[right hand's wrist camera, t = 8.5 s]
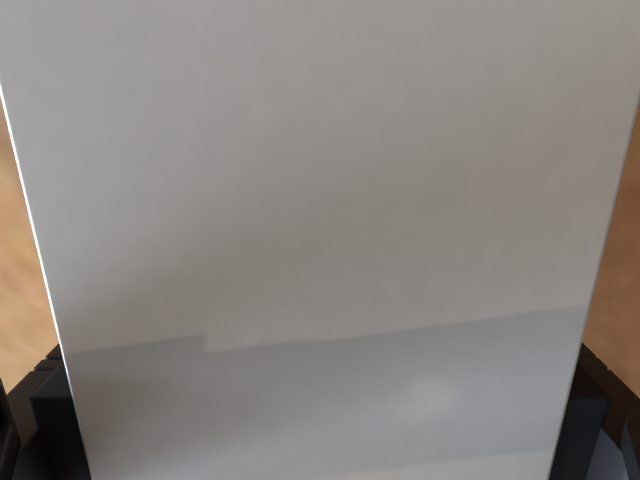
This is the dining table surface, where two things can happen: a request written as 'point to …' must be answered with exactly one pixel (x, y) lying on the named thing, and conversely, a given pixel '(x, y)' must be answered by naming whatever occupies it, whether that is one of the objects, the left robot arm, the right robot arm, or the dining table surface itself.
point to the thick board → (320, 225)
